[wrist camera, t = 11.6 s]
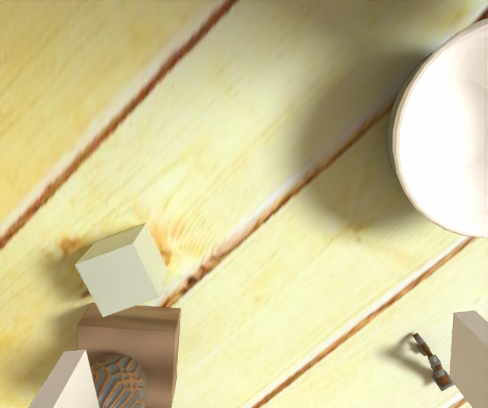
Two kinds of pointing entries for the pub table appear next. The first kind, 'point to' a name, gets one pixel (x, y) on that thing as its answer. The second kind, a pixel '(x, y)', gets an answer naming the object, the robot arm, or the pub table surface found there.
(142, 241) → the sage cube
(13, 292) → the pub table surface
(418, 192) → the bowl
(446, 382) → the wooden post with brackets
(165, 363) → the plinth
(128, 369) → the vase
